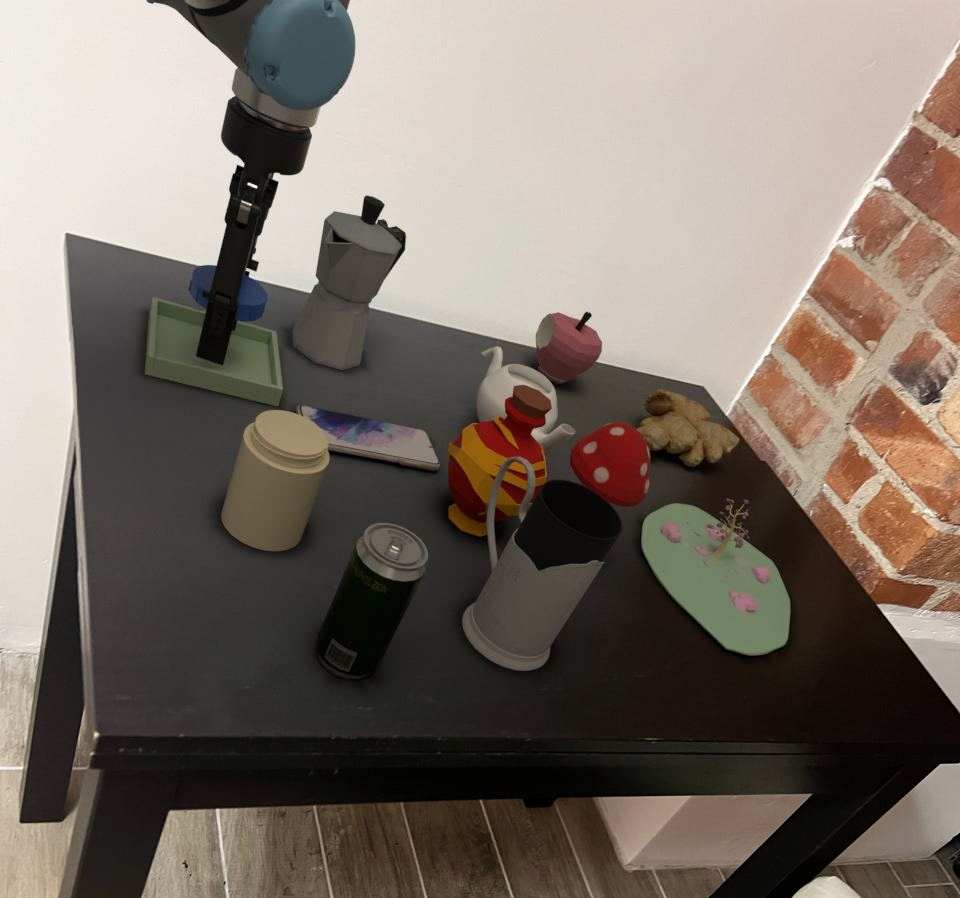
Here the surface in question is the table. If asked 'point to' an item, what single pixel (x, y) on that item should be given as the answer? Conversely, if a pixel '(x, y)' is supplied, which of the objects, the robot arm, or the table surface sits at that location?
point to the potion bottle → (497, 461)
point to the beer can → (371, 600)
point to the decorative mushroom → (613, 463)
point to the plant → (718, 577)
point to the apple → (566, 346)
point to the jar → (275, 480)
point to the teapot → (501, 388)
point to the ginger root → (684, 429)
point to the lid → (249, 297)
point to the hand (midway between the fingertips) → (216, 341)
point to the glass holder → (539, 570)
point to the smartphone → (374, 438)
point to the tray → (174, 358)
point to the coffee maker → (347, 285)
